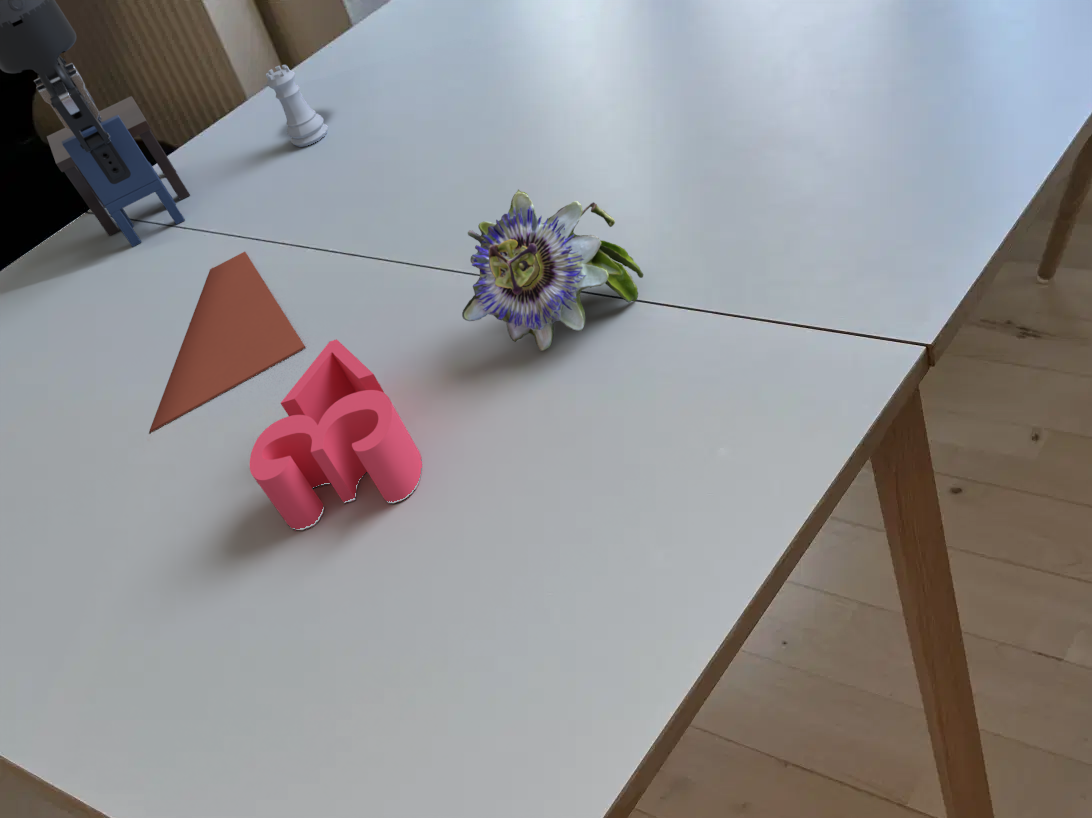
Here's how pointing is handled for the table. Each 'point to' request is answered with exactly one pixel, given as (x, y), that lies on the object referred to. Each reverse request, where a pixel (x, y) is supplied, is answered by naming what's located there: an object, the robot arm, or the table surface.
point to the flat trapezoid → (227, 339)
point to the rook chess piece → (296, 108)
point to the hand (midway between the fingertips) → (117, 170)
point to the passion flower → (543, 270)
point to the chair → (127, 190)
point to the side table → (136, 127)
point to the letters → (334, 440)
